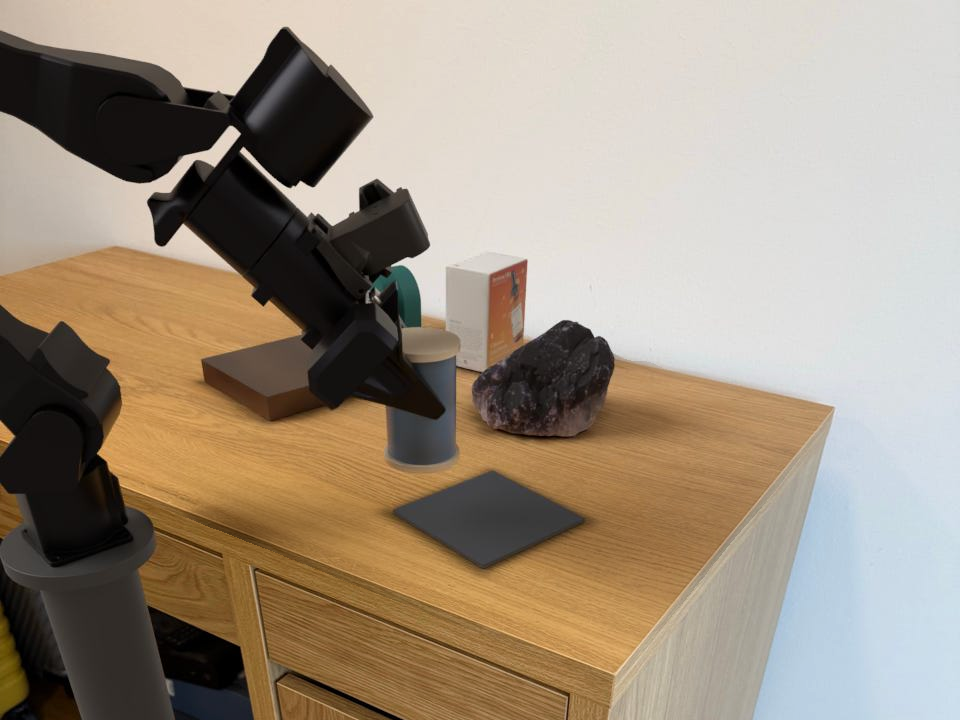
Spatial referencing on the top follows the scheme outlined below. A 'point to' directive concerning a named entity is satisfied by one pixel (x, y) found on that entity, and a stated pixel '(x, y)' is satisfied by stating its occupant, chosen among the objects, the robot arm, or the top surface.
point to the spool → (414, 436)
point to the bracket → (404, 294)
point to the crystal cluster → (547, 383)
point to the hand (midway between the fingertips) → (439, 399)
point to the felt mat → (488, 518)
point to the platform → (265, 377)
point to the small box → (486, 307)
